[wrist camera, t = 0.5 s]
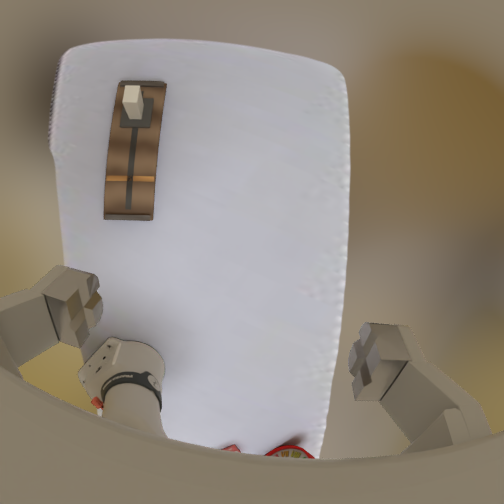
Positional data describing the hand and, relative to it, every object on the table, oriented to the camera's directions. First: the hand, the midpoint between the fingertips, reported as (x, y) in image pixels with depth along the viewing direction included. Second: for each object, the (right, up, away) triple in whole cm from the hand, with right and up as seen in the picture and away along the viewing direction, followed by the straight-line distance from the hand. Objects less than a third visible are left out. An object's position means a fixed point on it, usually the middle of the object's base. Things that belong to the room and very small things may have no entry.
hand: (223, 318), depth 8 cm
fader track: (-23, +22, +44) cm, 55 cm away
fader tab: (-21, +29, +41) cm, 55 cm away
